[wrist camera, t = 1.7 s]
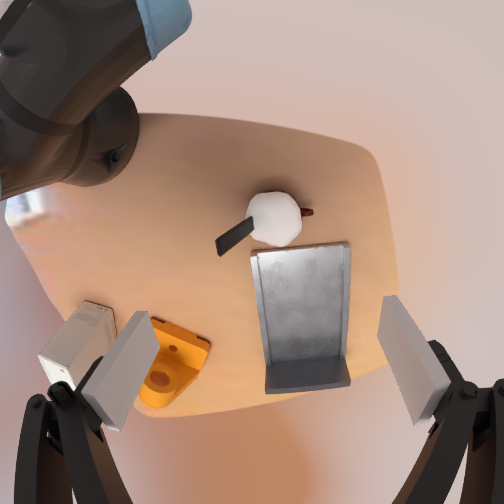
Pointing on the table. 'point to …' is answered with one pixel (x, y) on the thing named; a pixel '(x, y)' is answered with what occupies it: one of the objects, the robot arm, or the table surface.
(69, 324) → the skincare box
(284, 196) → the cocoa
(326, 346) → the grey dustpan
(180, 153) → the table surface
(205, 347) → the bracket
